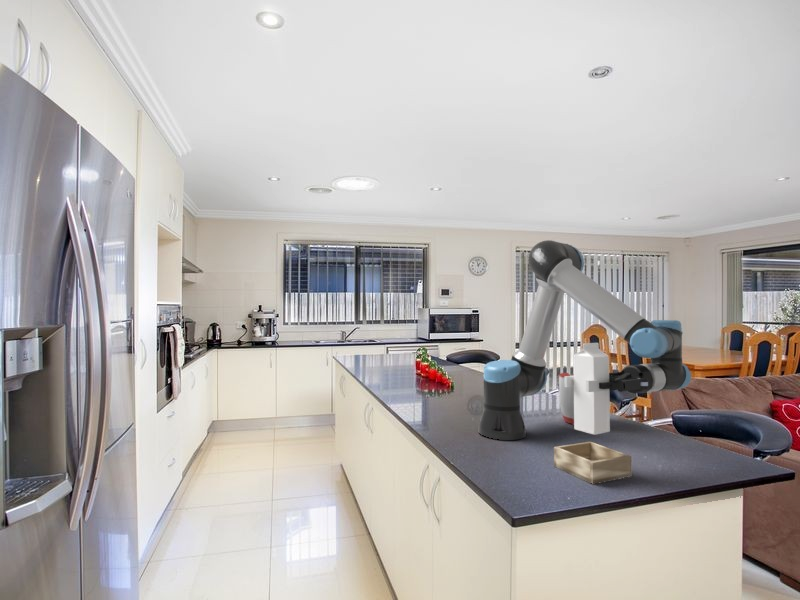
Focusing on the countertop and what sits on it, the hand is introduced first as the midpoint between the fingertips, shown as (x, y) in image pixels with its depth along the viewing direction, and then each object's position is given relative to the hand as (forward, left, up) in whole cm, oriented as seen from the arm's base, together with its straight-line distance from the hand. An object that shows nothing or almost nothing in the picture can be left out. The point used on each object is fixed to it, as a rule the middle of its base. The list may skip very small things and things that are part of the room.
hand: (576, 383), depth 108 cm
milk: (0, +5, -12) cm, 13 cm away
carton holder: (0, +5, -22) cm, 23 cm away
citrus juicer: (-38, +40, -22) cm, 60 cm away
